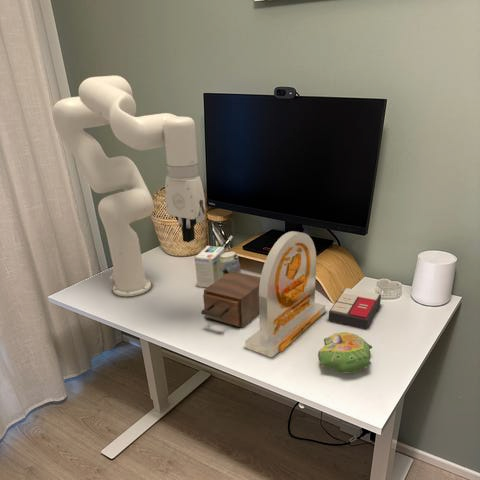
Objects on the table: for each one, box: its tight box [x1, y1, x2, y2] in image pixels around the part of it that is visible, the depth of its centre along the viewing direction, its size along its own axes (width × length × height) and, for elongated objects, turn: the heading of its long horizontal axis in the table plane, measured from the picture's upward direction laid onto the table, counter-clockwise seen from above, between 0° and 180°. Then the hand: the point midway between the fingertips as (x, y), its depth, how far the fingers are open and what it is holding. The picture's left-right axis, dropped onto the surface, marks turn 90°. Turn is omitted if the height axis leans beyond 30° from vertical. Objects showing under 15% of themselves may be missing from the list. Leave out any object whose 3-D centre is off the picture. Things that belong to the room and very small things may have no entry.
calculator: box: [328, 287, 382, 330], centre depth 131 cm, size 11×4×15 cm
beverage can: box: [220, 251, 242, 276], centre depth 147 cm, size 6×7×12 cm
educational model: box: [317, 331, 373, 374], centre depth 111 cm, size 13×16×5 cm
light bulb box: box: [194, 245, 226, 288], centre depth 152 cm, size 11×7×11 cm, turn 160°
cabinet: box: [203, 271, 261, 328], centre depth 134 cm, size 15×13×9 cm
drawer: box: [201, 293, 240, 327], centre depth 131 cm, size 18×11×7 cm, turn 148°
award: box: [244, 230, 326, 359], centre depth 119 cm, size 28×9×28 cm, turn 143°
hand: (189, 240), depth 123 cm, fingers closed
